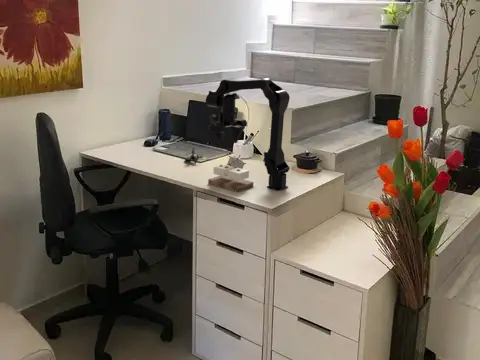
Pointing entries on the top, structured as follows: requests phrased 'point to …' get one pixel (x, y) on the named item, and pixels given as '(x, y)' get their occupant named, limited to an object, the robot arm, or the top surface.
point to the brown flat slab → (230, 183)
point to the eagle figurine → (193, 156)
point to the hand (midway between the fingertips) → (228, 144)
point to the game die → (236, 162)
